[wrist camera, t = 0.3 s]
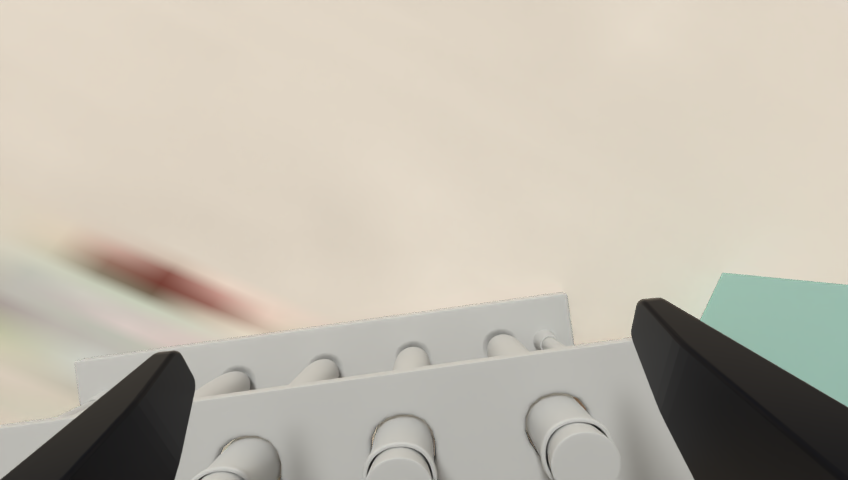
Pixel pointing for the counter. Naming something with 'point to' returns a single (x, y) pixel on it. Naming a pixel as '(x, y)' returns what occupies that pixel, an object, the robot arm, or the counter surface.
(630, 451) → the test tube rack
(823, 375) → the mint green tall box
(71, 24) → the counter surface
